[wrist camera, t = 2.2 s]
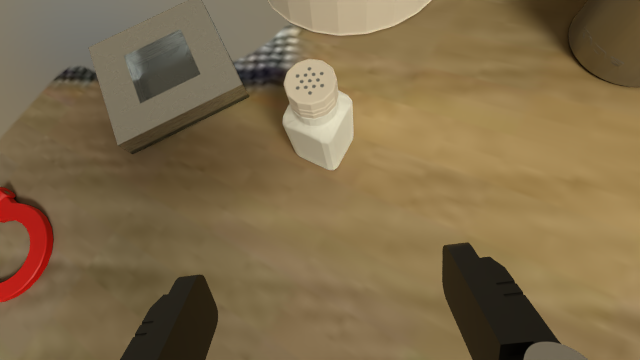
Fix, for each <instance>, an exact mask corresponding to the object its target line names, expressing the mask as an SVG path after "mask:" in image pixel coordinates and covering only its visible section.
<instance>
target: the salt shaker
mask: <svg viewBox="0 0 640 360" xmlns="http://www.w3.org/2000/svg"><path fill="white" fill-rule="evenodd" d="M284 88H285V91H286V94H287V97H288V100H289V102H290V104H289V105H288V107H287V109H286V111H285V113H284V115H283V126H284V128H285V131H286V133H287V135H288V137H289V139H290V141H291V143H292V146H293V148H294V150H295V152H296V153H297V155H298V156H299V157H302V158H304V159H306V160H308V161H310V162H312V163H315V164H317V165H319V166H321V167H323V168H325V169H328V170H335V169H336V168H337V167H338V166H339V164H340V162H341V160H342V159H343V157H344V155H345V153H346V151H347V149H348V147H349V146H350V144H351V142H352V140H353V135H354V131H353V105H352V100H351V99H350V98H349V96H348V95H346V94H344V93H342V92H340V91H339V90H338V85H337V78H336V75H335V73H334V70H333V68H332V67H331V66H329V65H328V64H326V63H325V62H324V61H322V60H314V59H307V60H304V61H301V62H298V63H296V64H295V65H294V66H293V67H292V68H291V69H290V70H289V71H288V72H287V74H286V77H285V81H284Z"/></svg>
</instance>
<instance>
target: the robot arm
mask: <svg viewBox="0 0 640 360" xmlns="http://www.w3.org/2000/svg"><path fill="white" fill-rule="evenodd" d="M568 38H569V43H570V47H571V49H572V52H573V54H574V56H575V57H576V58H577V59H578V61H579V62H580V63H581V64H582V65H583V66H584V67H585V68H586V69H587V70H589V71H590V72H591V73H593V74H594V75H596V76H598V77H600V78H601V79H604V80H606V81H609V82H611V83H614V84H618V85H623V86H627V87H640V0H588V1H587V2H586V4H585V5H584V6H583V7H582V9H581V10H580V11H579V13H578V14H577V15H576V16H575V18H574V19H573V20H572V23H571V25H570V28H569V36H568ZM442 282H443V289H444V294H445V297H446V300H447V303H448V305H449V307H450V309H451V312H452V314H453V316H454V318H455V321H456V323H457V325H458V327H459V330H460V332H461V334H462V337H463V339H464V341H465V343H466V346H467V348H468V350H469V352H470V355H471V357H472V359H473V360H588V359H587V358H585V357H584V356H583V355H582V354H580V353H579V352H577V351H575V350H574V349H572V348H570V347H568V346H565V345H562V344H561V343H560V342H559V341H558V340H557V338H556V337H555V336H554V334H553V333H552V331H551V330H550V329H549V327H548V326H547V325H546V323H545V322H544V320H543V319H542V318H541V316H540V315H539V314H538V312H537V311H536V310H535V308H534V307H533V305H532V304H531V303H530V301H529V300H528V299H527V297H526V296H525V295H523V292H522V290H521V289H520V288H519V286H518V285H517V284H515V281H514V279H513V278H512V277H511V275H510V274H509V273H508V271H507V270H506V268H505V267H503V266H502V265H501V264H499V263H498V262H496V261H495V260H493V259H492V258H491V257H483V258H479V257H478V255H477V254H476V252H475V251H474V249H473V247H472V246H471V245H470V244H469V243H459V244H451V245H444V246H443V267H442ZM217 322H218V310H217V306H216V304H215V301H214V299H213V296H212V294H211V291H210V289H209V287H208V284H207V282H206V279H205V277H204V276H203V275H193V276H185V277H179V278H178V279H177V280H176V281H175V283H174V285H173V286H172V288H171V290H170V292H169V294H167V295H163V296H162V297H161V298H160V299H159V300H158V301H157V302H156V303H155V304H154V305H153V306H152V307H151V308H150V309H149V311H148V313H147V315H146V316H145V318H144V320H143V321H142V325H140V327H139V328H138V330H137V332H136V333H135V337H133V338H132V340H131V342H130V344H129V345H128V347H127V349H126V350H125V352H124V354H123V356H122V357H121V359H120V360H205V359H206V356H207V353H208V350H209V347H210V344H211V341H212V338H213V335H214V332H215V329H216V326H217Z"/></svg>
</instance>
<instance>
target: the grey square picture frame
mask: <svg viewBox="0 0 640 360" xmlns="http://www.w3.org/2000/svg"><path fill="white" fill-rule="evenodd" d="M89 51H90V54H91V57H92V61H93V64H94V68H95V71H96V74H97V78H98V81H99V84H100V88H101V91H102V94H103V98H104V101H105V104H106V108H107V111H108V115H109V118H110V121H111V125H112V128H113V131H114V135H115V138H116V141H117V145H118V146H120V147H122V148H123V149H125V150H127V151H128V152H130V153H132V154H134V153H136V152H138V151H140V150H142V149H144V148H146V147H148V146H150V145H152V144H154V143H156V142H158V141H160V140H162V139H164V138H166V137H168V136H170V135H172V134H174V133H176V132H179V131H181V130H183V129H185V128H187V127H189V126H191V125H193V124H195V123H197V122H199V121H201V120H203V119H205V118H207V117H209V116H211V115H213V114H215V113H217V112H219V111H221V110H223V109H225V108H227V107H229V106H231V105H233V104H235V103H238V102H240V101H242V100H244V99H246V98H248V97H249V95H248V93H247V91H246V89H245V87H244V84H243V82H242V80H241V78H240V76H239V74H238V72H237V70H236V68H235V66H234V64H233V62H232V60H231V58H230V56H229V54H228V52H227V50H226V48H225V46H224V44H223V42H222V40H221V38H220V36H219V34H218V32H217V29H216V28H215V25H214V23H213V22H212V20H211V17H210V15H209V13H208V11H207V9H206V8H205V6H204V4H203V2H202V0H188V1H186V2H184V3H182V4H180V5H177V6H175V7H173V8H171V9H169V10H167V11H165V12H163V13H161V14H158V15H156V16H154V17H152V18H150V19H148V20H146V21H144V22H142V23H139V24H137V25H135V26H133V27H131V28H129V29H127V30H125V31H123V32H120V33H118V34H116V35H114V36H112V37H110V38H108V39H106V40H104V41H102V42H99V43H97V44H95V45H93V46H91V47H89Z"/></svg>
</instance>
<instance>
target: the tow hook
mask: <svg viewBox="0 0 640 360" xmlns="http://www.w3.org/2000/svg"><path fill="white" fill-rule="evenodd" d="M15 196H16V195H15V194H14V193H13V192H12V191H10V190H8V189H6V188H3V187H0V222H4V223H5V222H7V221H13V220H16V221H18V222H20V223H22V224H23V225H24V226H25V227H26V228H27V231H28V233H29V235H30V250H29V254H28V256H27V259H26V261H25V262H24V264H23V266H22V267H21V269H20V270H19V271H18V272H17V273H16V274H15V275H14V276H12V277H11V278H9V279H8V280H6V281H4V282H1V283H0V302H5V301H8V300H10V299H13V298H15V297H17V296H19V295H20V294H22V293H23V292H25V291H26V290H27V289H29V288H30V287H31V286H32V285H33V284H34V283H35V282H36V281H37V279H38V278H39V277H40V276H41V274H42V273H43V271H44V269H45V268H46V266H47V264H48V261H49V259H50V256H51V253H52V246H53V234H52V227H51V225H50V223H49V221H48V219H47V217H46V216H45V215H44V214H43V213H42V212H41V211H40V210H39V209H37V208H35V207H33V206H31V205H26V204H20V203H17V202H16V201H15V200H14V199H13V198H15Z"/></svg>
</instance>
